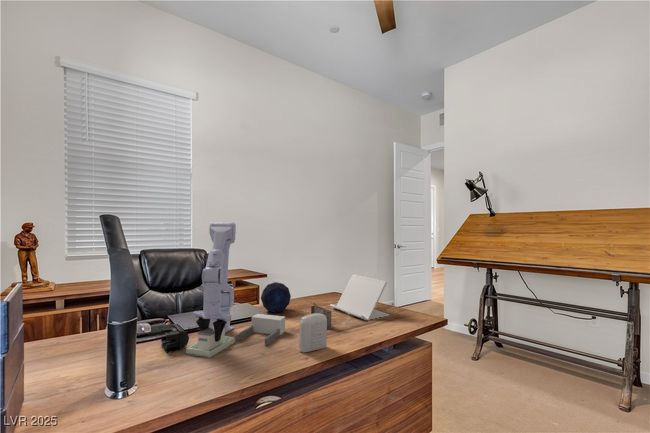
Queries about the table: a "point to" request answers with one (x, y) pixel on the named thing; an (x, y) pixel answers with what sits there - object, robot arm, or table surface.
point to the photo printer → (312, 332)
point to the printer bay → (264, 327)
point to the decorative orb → (275, 297)
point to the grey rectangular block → (209, 339)
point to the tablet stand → (362, 297)
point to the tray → (204, 353)
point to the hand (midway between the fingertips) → (211, 339)
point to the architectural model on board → (322, 311)
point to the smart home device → (158, 329)
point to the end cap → (174, 338)
